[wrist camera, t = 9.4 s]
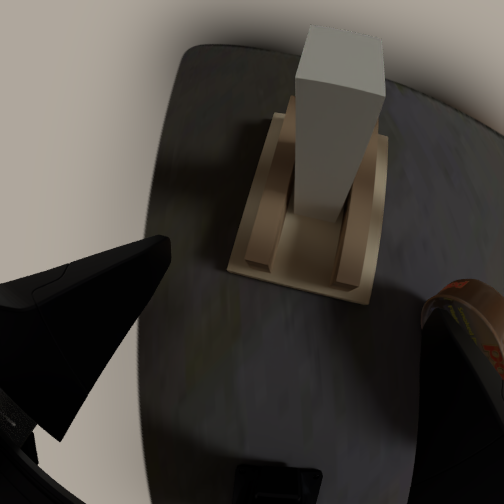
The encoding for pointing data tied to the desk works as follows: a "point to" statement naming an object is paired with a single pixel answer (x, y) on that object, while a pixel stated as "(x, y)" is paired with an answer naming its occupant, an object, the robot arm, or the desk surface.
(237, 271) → the rack
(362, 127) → the clay bar
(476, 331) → the tin
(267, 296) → the desk surface
